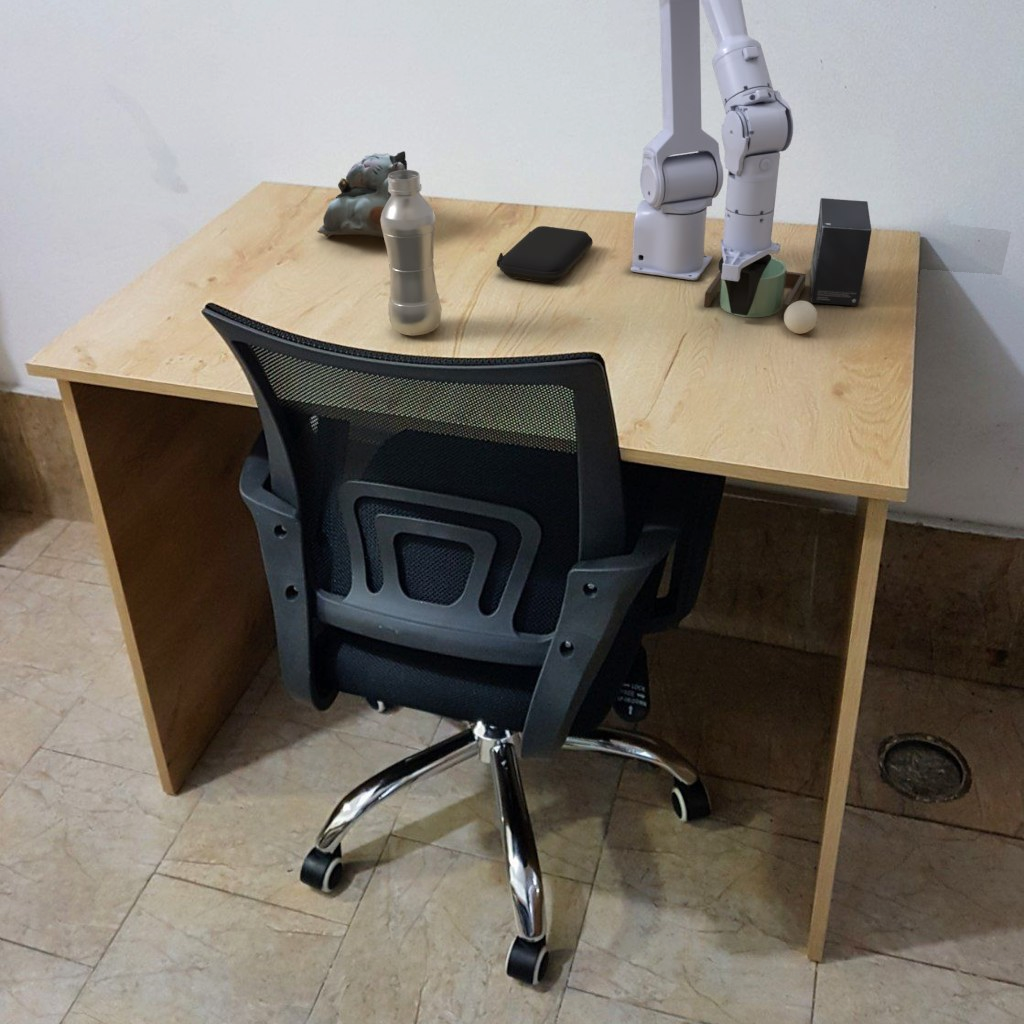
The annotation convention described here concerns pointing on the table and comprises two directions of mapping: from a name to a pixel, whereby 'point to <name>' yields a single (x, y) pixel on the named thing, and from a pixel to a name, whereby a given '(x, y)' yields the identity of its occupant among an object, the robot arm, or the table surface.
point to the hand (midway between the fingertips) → (740, 312)
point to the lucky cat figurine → (362, 196)
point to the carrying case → (545, 254)
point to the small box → (840, 252)
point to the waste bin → (763, 291)
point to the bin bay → (791, 281)
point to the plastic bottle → (410, 256)
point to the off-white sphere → (800, 317)
